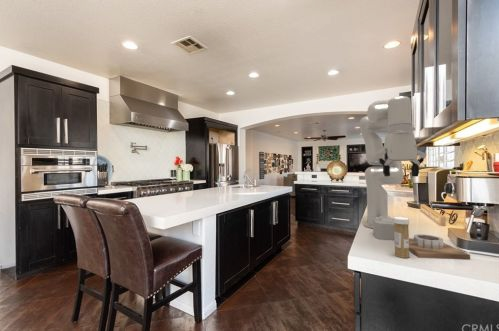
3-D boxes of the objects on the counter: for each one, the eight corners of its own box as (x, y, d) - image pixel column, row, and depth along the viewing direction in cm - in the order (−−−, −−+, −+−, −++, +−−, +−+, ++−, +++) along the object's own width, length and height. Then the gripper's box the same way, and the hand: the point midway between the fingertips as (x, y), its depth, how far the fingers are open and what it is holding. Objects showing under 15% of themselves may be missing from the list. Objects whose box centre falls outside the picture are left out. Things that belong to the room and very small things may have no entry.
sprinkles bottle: (411, 258, 82) (411, 219, 82) (396, 257, 83) (395, 218, 83) (406, 254, 86) (406, 216, 86) (392, 253, 87) (392, 216, 88)
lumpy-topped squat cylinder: (376, 239, 104) (376, 219, 104) (370, 231, 116) (370, 214, 117) (403, 241, 101) (403, 221, 101) (395, 233, 113) (394, 215, 113)
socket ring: (409, 241, 96) (409, 234, 96) (433, 242, 95) (433, 234, 95) (422, 249, 87) (422, 240, 87) (449, 249, 86) (449, 241, 86)
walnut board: (394, 241, 101) (394, 238, 101) (436, 242, 99) (436, 239, 99) (418, 257, 83) (418, 253, 83) (470, 259, 81) (470, 254, 81)
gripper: (418, 132, 93) (420, 176, 92) (371, 133, 95) (372, 176, 94) (430, 128, 85) (432, 176, 84) (379, 129, 87) (380, 176, 86)
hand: (400, 176), depth 89 cm, fingers open, 9 cm apart
